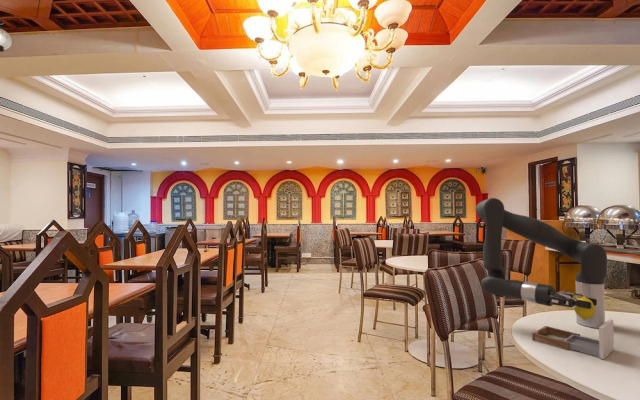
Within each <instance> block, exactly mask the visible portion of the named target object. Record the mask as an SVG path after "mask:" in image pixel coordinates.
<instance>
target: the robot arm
mask: <svg viewBox="0 0 640 400" xmlns="http://www.w3.org/2000/svg"><path fill="white" fill-rule="evenodd" d="M475 213H476V216H477V217H478V218H479V219H481V220H483V221H484V222H485V226H486V227H485V228H486V229H485V236H484V237H485V238H484V241H483V242H484V243H483V247H482V262H483V263H482V264H483V268H484V269H485V270H486V271H487V275H488V276H485V277H484V278H482V280H480V287H481V289H482V290H483V292H485V293H486V294H490V295H494V296H502V297H510V298H513V299H517V300H521V301H526V302H529V303H531V304H538V305H542V306H547V307H552V306H553V305H554V306H559V307H566V308H574V307H582V308H587V309H591V308H592V304H591V302H588V301H582V300H577V299H579V298H582V297H586V298H588V299H589V300H591V301H592V302H593V304H594V307H595V313H594V315H593V317H591V318H589V319H586V320H583V319H582V318H581V317H579V316H578V315H577V314H576V313H575V315H576V316H575V317H576V319H575V320H576V322H575V323H577V324H578V323H579V325H582V326H584V327H588V328H594V329H595V328H598V329H599V327H600V326H601V325H602V324H604V323H605V322H606V308H605V307H606V306H605V305H606V303H605V302H606V300H605V297H606V295H605V279H606V277H607V272H608V268H607V267H608V255H607V251H606V249H605V248H604V247H603V246H602V245H599V244H597V243H592V242H587V241H586V242H585V241H582V240H578V239H575V238H573V237H570V236H567V235H566V234H563V232H561V231H559V230H558V229H557V228H555V227H554V226H552V225H551V224H548V223H547V222H544V221H542V220H540V219H537V218H534V217H531V216H527V215H522V214H518V213H513V212H510V211H508V210H506V209H505V206H504V203H503V202H502V201H501V200H500V199H498V198H496V197H490V198H487V199H484V200H482V201H480V202H479V203H477V204H476V207H475ZM503 228H504V229H506V230H507V231H510V232H511V233H514V234H516V235H518V236H519V237H523V238H525V239H526V240H529V241H530V242H533V243H535V244H537V245H540V246H543V247H545V248H549V249H552V250H554V251H557V252H559V253H561V254H563V255H565V256H566V257H568V258H570V259H571V260H572V261H575V262H577V263H579V264H580V271H579V272H578V273H575V292H571V291H567V290H564V291H563V290H562V291H561V290H559V291H556V290H555V289H556V288H555V287H554V286H553V285H551V284H545V283H538V282H535V281H534V282H532V281H523V280H518V279H517V280H516V279H506V276H505V272H504V269H503V259H502V258H503V257H502V255H503V253H502V237H503V236H502V235H503V234H502V232H503Z"/></svg>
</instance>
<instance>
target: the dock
mask: <svg viewBox="0 0 640 400" xmlns="http://www.w3.org/2000/svg"><path fill="white" fill-rule="evenodd" d="M547 334H548V335H552V336H557V337H561V338H563V339H567V338H568V337H569V336H571V335H572V334H575V335H579V336H581V334H580V333H576V332H572V331H568V330H564V329H560V328H555V327H553V326H552V327H551V326H549V325H548V326H547V325H545V326H543V327H541V328H539V329H538V330H535V331H534V332H532V333H531V336H532V337H531V340H532V341H534V342H538V343H541V344H545V345H550V346H552V347H555V348H558V349H559V348H560V349H563V350H565V351H569V350H570V349H569V342H566V341H564V340H561V339H558V338H554V337H550V336H546V335H547Z"/></svg>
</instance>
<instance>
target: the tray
mask: <svg viewBox="0 0 640 400" xmlns="http://www.w3.org/2000/svg"><path fill="white" fill-rule="evenodd" d="M614 336H615V335H614V319H611V318H609V319H608V320H605V323H604V324H602V325H601V326H600V327H599V328H598V339H596V338H591V337H587V336H583V335H582V336H581V335H580V336H579V335H575V334H572V335H571V336H569V337H568V338H564V339H563V341H566V342H569V350H572V351H577V352H580V353H584V354H588V355H590V356H595V357H598V358H599V359H600V360H605V359H606V358H607V356H609V355H610V353H611V352H612V351H614V350H615V341H614V340H615V339H614Z"/></svg>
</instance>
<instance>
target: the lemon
mask: <svg viewBox="0 0 640 400" xmlns="http://www.w3.org/2000/svg"><path fill="white" fill-rule="evenodd" d="M577 300H582V301H588V302H591V304H592V308H591V309H587V308H582V307H573V308H574V312H575V315H576V314H577V315H578V316H579V317H581V318H582V319H583V320H586V319H589V318H591V317H593V315H594V313H595V307H594V304H593V302H592V301H591V300H589V299H588V298H586V297H582V298H579V299H577Z"/></svg>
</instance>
